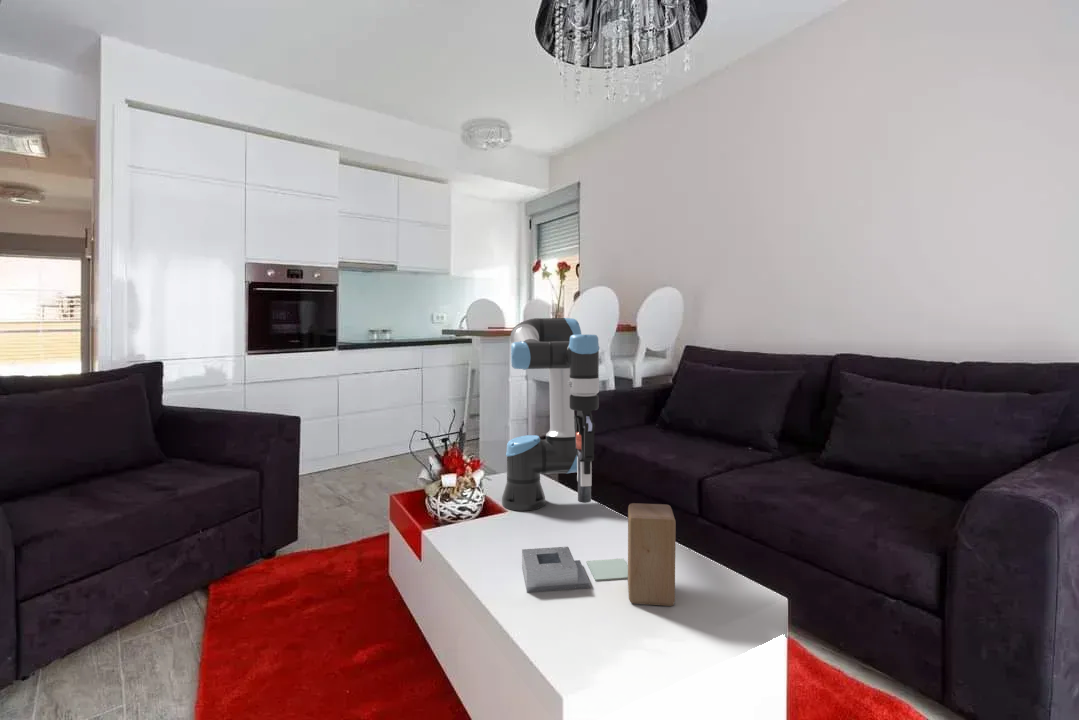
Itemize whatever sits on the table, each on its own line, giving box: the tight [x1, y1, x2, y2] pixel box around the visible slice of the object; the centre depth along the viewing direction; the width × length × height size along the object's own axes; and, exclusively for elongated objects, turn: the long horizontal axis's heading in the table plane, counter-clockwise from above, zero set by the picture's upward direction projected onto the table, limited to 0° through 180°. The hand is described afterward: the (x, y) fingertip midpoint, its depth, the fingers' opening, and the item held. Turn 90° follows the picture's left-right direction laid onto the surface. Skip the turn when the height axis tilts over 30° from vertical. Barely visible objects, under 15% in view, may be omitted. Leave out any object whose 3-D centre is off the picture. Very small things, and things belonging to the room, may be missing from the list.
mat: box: [586, 558, 628, 582], centre depth 130 cm, size 10×10×1 cm
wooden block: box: [627, 502, 677, 607], centre depth 117 cm, size 10×10×20 cm
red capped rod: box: [576, 432, 592, 504], centre depth 134 cm, size 4×4×18 cm
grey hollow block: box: [521, 546, 591, 593], centre depth 126 cm, size 12×15×5 cm
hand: (584, 483), depth 134 cm, fingers closed on red capped rod, 3 cm apart
